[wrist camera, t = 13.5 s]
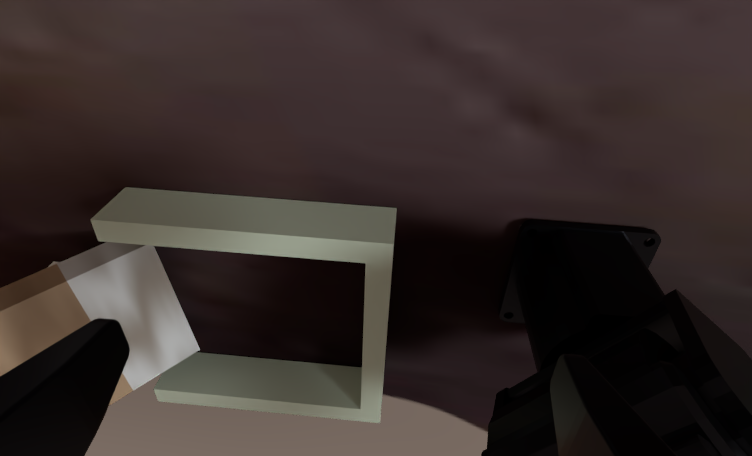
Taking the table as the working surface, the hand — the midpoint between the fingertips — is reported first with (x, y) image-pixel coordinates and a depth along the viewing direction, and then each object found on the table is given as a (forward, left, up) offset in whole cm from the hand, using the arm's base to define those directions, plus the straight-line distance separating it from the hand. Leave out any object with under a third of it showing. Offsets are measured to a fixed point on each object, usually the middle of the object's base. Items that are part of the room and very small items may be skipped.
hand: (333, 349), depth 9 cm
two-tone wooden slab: (+11, -11, -12) cm, 20 cm away
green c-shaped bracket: (+11, -6, -13) cm, 18 cm away
